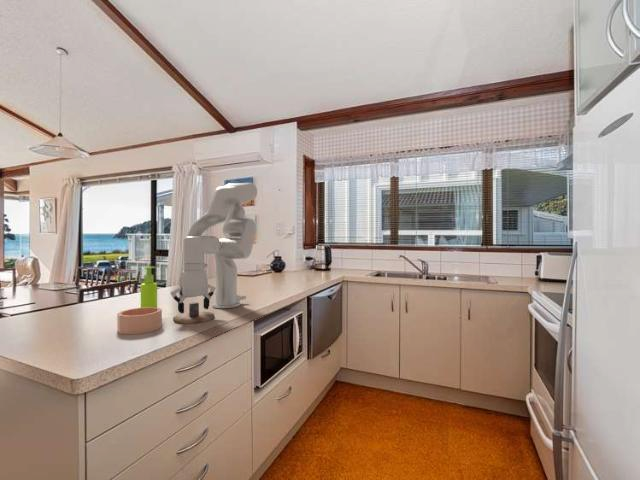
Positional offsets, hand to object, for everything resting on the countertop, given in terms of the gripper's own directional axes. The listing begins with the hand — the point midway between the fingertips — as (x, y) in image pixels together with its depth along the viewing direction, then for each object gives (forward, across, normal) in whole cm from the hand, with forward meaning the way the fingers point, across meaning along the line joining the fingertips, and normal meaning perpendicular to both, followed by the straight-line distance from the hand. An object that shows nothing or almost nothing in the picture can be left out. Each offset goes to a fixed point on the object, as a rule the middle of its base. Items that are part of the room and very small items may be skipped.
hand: (194, 310), depth 121 cm
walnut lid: (+3, 0, 0) cm, 3 cm away
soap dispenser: (+3, +11, -18) cm, 21 cm away
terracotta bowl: (+3, +19, 0) cm, 19 cm away
